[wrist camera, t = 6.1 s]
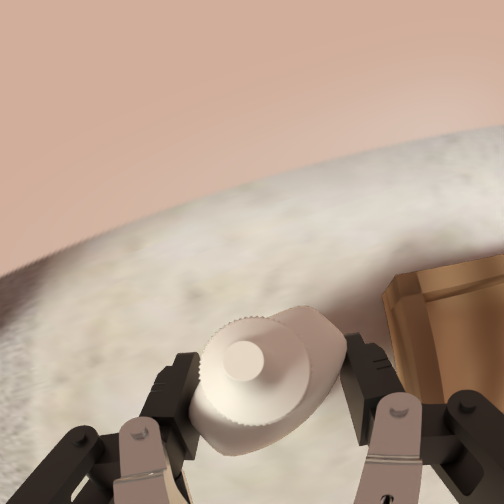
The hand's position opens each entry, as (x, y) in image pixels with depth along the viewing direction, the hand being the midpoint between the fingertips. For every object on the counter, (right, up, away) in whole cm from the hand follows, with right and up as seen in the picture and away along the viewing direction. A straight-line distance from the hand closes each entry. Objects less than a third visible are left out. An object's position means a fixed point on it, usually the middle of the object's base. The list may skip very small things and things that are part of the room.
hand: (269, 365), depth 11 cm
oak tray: (+13, -1, +3) cm, 13 cm away
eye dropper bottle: (+1, -3, +4) cm, 5 cm away
